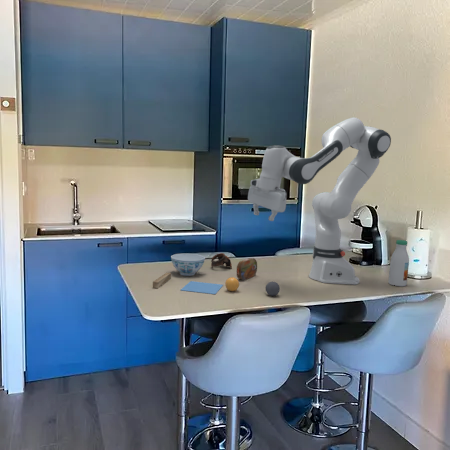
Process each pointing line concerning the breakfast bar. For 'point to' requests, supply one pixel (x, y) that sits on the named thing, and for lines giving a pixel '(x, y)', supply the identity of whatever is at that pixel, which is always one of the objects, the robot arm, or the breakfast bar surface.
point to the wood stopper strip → (161, 280)
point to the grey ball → (272, 288)
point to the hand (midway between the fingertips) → (263, 217)
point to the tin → (246, 269)
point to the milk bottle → (399, 265)
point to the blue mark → (202, 287)
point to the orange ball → (232, 284)
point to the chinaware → (187, 263)
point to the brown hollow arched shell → (221, 260)
